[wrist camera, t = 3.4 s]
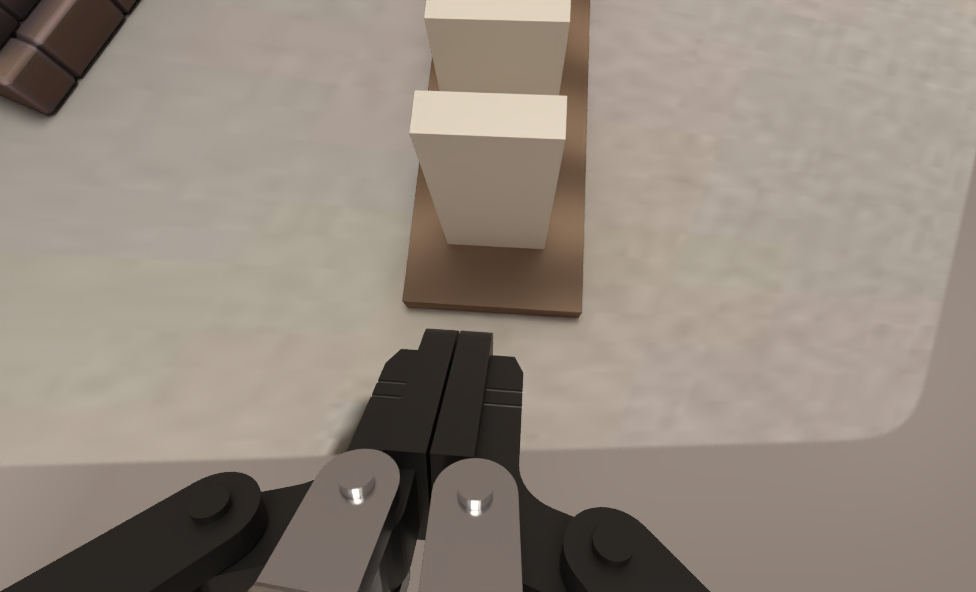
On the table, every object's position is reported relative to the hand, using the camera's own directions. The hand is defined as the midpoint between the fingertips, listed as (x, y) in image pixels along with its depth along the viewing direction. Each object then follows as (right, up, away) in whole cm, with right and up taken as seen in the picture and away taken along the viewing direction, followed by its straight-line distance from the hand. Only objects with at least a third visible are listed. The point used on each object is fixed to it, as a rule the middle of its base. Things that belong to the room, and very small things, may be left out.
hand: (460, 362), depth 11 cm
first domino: (+1, +5, +14) cm, 15 cm away
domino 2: (+1, +9, +15) cm, 18 cm away
